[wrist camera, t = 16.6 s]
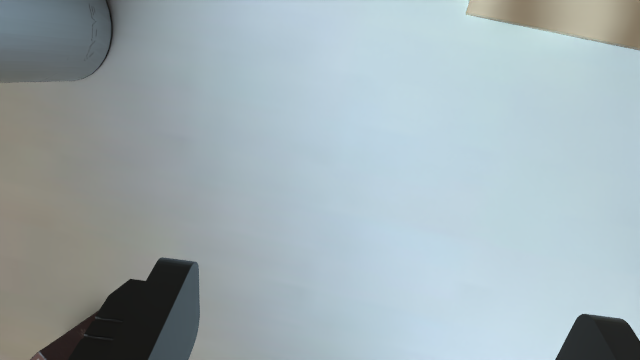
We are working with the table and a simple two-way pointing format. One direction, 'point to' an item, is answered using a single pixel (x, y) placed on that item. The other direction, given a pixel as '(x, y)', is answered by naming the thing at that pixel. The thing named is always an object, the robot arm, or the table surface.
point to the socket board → (569, 17)
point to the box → (64, 343)
